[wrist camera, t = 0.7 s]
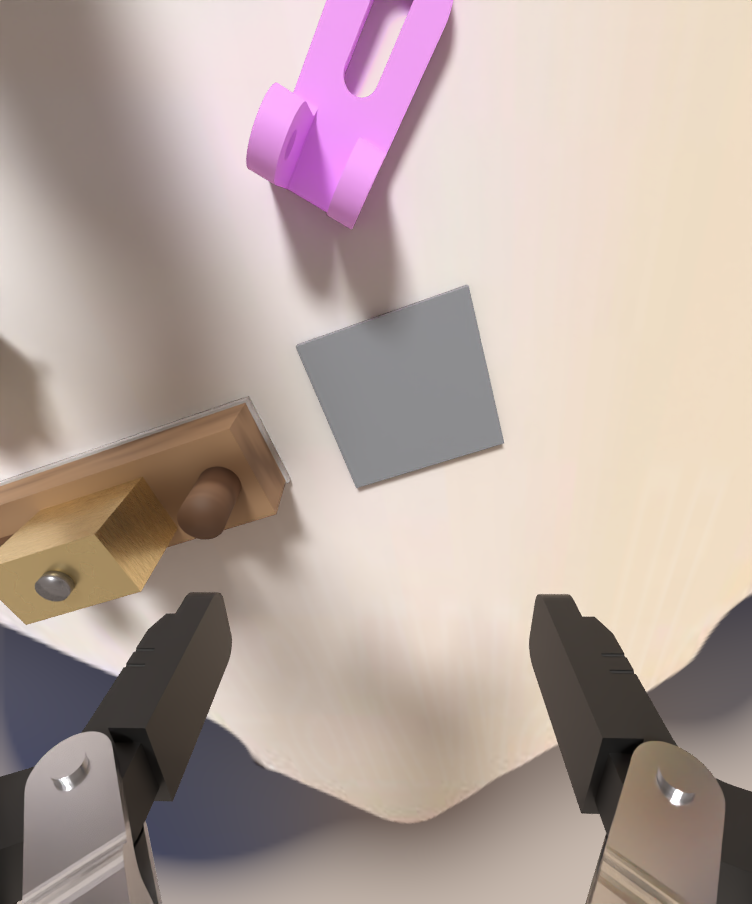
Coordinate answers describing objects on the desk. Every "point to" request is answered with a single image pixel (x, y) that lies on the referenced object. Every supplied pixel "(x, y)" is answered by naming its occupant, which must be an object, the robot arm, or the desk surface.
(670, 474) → the desk surface
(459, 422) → the mat
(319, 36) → the bracket
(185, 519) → the plane body
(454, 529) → the desk surface
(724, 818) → the robot arm
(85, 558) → the lever cap
